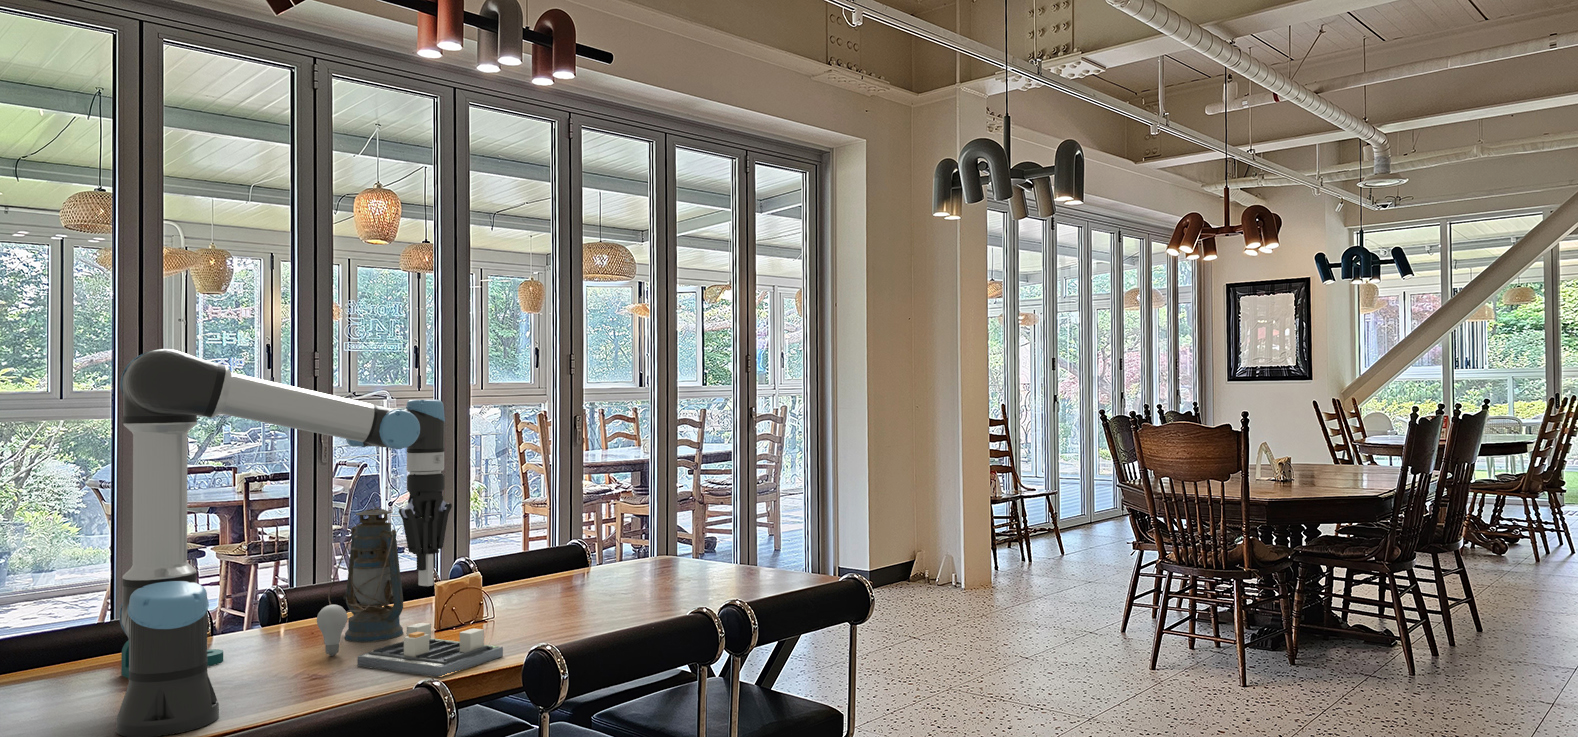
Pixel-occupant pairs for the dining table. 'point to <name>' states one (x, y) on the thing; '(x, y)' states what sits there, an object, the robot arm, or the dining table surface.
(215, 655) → the bracket
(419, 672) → the panel
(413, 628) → the block
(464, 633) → the block
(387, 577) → the lantern
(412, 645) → the block
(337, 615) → the lightbulb
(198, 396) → the robot arm
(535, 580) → the dining table surface
